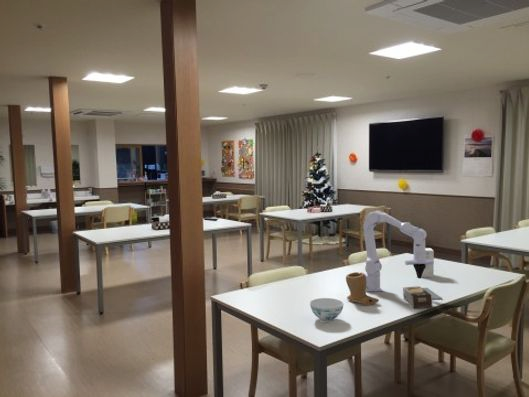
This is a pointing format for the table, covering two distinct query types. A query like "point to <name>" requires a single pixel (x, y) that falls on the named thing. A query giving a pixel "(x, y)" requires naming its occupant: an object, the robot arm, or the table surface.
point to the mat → (432, 294)
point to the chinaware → (326, 308)
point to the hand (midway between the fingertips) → (419, 278)
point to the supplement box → (429, 267)
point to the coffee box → (417, 297)
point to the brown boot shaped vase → (359, 289)
